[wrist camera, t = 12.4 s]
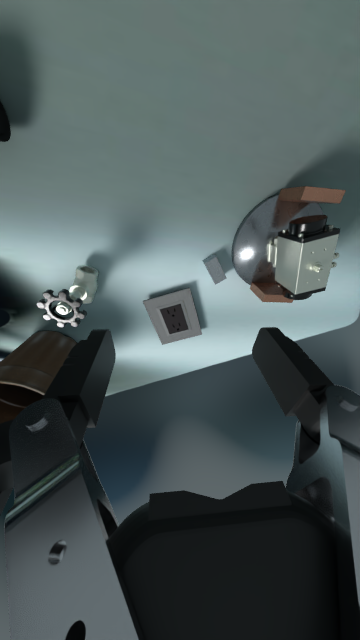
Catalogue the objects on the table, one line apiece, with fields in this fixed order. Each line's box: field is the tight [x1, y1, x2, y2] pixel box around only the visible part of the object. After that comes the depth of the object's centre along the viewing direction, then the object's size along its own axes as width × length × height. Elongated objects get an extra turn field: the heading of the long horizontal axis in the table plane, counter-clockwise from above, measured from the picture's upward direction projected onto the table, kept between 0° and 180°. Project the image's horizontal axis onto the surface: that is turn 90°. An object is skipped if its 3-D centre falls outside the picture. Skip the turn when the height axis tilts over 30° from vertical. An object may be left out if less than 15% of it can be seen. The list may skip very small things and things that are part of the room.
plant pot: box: [0, 331, 77, 423], centre depth 39 cm, size 16×16×16 cm
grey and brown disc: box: [232, 186, 346, 303], centre depth 32 cm, size 18×17×8 cm
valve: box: [37, 265, 99, 328], centre depth 31 cm, size 7×7×12 cm
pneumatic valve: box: [267, 215, 340, 300], centre depth 29 cm, size 6×12×12 cm, turn 14°
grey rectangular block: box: [203, 254, 226, 284], centre depth 36 cm, size 5×2×2 cm, turn 31°
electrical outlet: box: [143, 288, 202, 345], centre depth 42 cm, size 13×10×2 cm
